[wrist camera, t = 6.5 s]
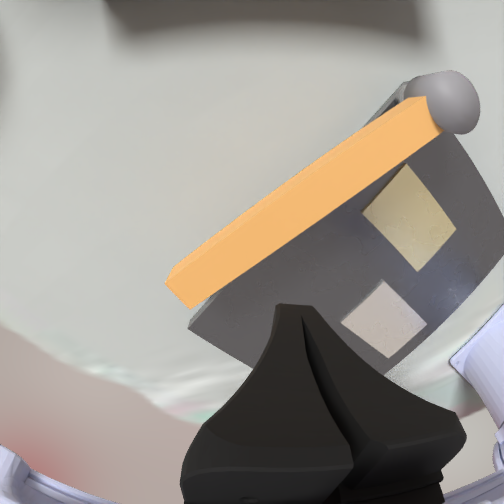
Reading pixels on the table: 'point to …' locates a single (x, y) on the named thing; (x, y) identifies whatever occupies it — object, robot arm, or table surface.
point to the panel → (373, 261)
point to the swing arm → (328, 183)
